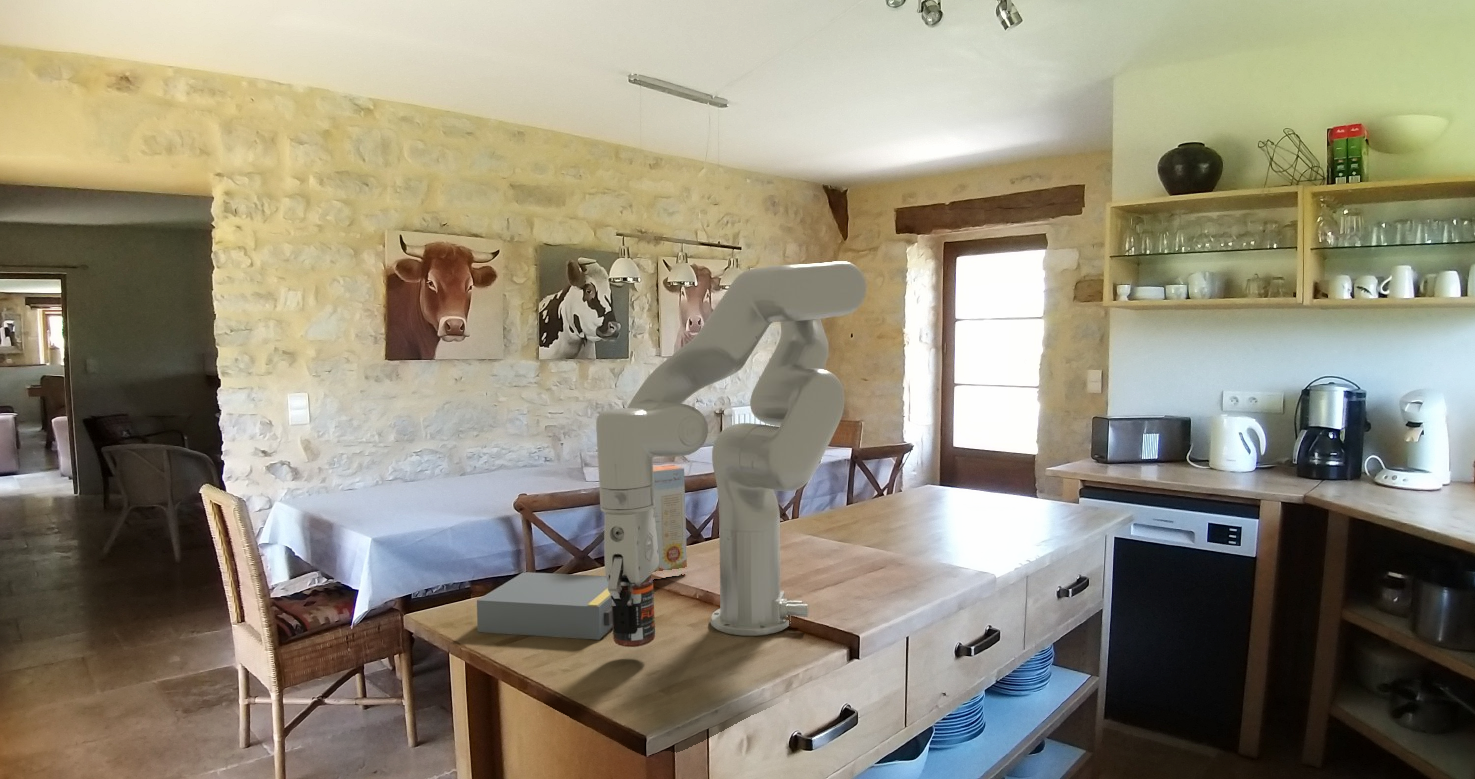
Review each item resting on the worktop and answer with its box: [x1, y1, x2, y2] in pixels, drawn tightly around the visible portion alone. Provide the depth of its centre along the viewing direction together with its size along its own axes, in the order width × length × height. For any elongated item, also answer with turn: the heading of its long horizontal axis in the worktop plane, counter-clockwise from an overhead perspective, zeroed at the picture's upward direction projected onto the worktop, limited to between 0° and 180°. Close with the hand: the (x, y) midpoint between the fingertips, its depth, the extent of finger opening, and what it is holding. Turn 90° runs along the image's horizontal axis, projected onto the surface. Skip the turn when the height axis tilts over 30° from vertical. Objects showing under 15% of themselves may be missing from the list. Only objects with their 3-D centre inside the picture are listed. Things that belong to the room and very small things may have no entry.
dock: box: [476, 571, 613, 641], centre depth 135 cm, size 21×16×5 cm
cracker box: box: [653, 464, 688, 572], centre depth 158 cm, size 14×6×21 cm, turn 120°
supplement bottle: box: [611, 576, 656, 648], centre depth 117 cm, size 6×6×11 cm
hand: (633, 622), depth 117 cm, fingers closed on supplement bottle, 5 cm apart
